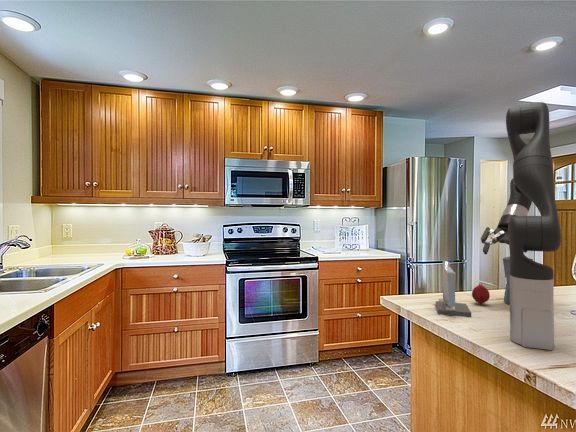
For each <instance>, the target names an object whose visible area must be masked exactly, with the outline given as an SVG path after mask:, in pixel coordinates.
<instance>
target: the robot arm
mask: <svg viewBox="0 0 576 432" xmlns="http://www.w3.org/2000/svg"><path fill="white" fill-rule="evenodd" d="M505 126H506V128H505V129H506V132H507V137H508V142H509V145H510V148H511V152H512V156H513V163H512V167H513V168H512V176H513V177H512V178H511V180H510V183H509V190H510V192H509V193H510V194H509V199H508V202H507V204H506V206H505V208H504V210H503V212H502V214H501V217H500V219H499V220H498V221H499V222H498V225H497V226H496V228H495V229H491V228H490V227H489V226H487V227H485V229H484V231H483V234H482V235H481V238H480V243H481V244H483V245H484V246H483V248H482V252H483V255H488V253H489V250H490V247H491V245H494V244H497V243H500V244H506V245H509V247H508V248H509V257H510V305H509V329H510V330H509V332H510V333H509V338H510V339H509V340H511V342H513V343H515V344H518V345H520V346H522V347H524V348H530V349H539V350H548V351H553V350H554V349H553V348H555V318H554V317H555V313H554V310H555V305H554V303H555V301H554V300H555V299H554V297H555V295H554V291H555V290H554V289H555V288H554V275H555V274H554V273H555V272H554V270H553V267H551V266H550V265H549V266H548V265H547V264H542V263H541V262H537V261H535V260H534V259H533V260H531V259H532V258H530V259H529V257H528V256H526V255H525V253H528V252H548V253H549V252H551V253H552V252H555V251H557V250H559V249H560V246H561V244H562V243H561V242H562V231H561V224H560V220H559V219H560V218H559V214H558V209H557V208H558V207H557V204H556V197H555V196H556V195H555V183H554V182H555V179H554V178H555V177H554V165H553V164H554V163H553V158H552V151H551V150H552V149H551V143H550V142H551V141H550V110H549V107H548V105H547V104H546V102H543V101H538V102H537V101H536V102H531V103H527V104H522V105H515V106H512V107H509V108H508V109H507V111H506V114H505ZM528 134H533V136H532V137H531V139H530V140H529V141H528V142H527V143H526V142H525V141H524V140H523V139H522V137H521V135H528ZM532 203H533V204H534V205H535V207H536V208H537V209H538V212H539V213H540V215H529V211H530V208H531V206H532ZM488 237H489V238H488Z"/></svg>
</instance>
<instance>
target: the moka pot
mask: <svg viewBox="0 0 576 432" xmlns="http://www.w3.org/2000/svg"><path fill="white" fill-rule="evenodd" d="M528 258H529V257H528ZM529 259H531V260H533V261H534V259H533V258H529ZM502 263H503V269H504V270H503V272H504V277H505V278H506V279H505V280H506V283H505V289H504V296H503V302H504V304H507V305H509V306H510V256H505V257H503V258H502Z"/></svg>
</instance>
